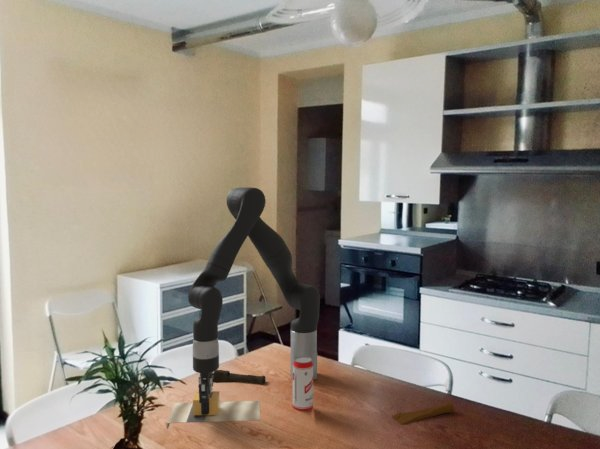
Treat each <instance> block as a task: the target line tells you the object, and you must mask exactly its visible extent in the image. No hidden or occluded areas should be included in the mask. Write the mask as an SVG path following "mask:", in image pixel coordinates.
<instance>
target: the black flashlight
mask: <svg viewBox="0 0 600 449" xmlns="http://www.w3.org/2000/svg"><path fill="white" fill-rule="evenodd" d="M213 373H214V378H213V383H216V384H222V383H223V384H224V383H225V384H226V383H227V384H228V383H245V384H253V385H260V386H263V385H264V384H265V383H266V375H254V374H253V375H252V374H239V373H233V372H231V371H230V370H224V369H223V370H222V369H217V370H216V371H214V372H213Z"/></svg>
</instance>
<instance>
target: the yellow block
mask: <svg viewBox="0 0 600 449" xmlns="http://www.w3.org/2000/svg"><path fill="white" fill-rule="evenodd" d="M203 398H206V396H203ZM209 399H210V401H209V414H208V415H218V411H219V406H220V402H221V401H220V399H221V398H220V391H219V390H217V391H216V390H215V391H213V390H212V391H211V393H210V396H209ZM192 403H193V415H202V414H201V403H199V391H195V394H194V397H193V400H192Z"/></svg>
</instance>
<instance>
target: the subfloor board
mask: <svg viewBox="0 0 600 449" xmlns="http://www.w3.org/2000/svg"><path fill="white" fill-rule="evenodd" d="M260 409H261V400H242V401H241V400H239V401H238V400H236V401H234V400H233V401H220V406H219V411H218V415H193V402H174V405H173V406H172V409H171V411H170V414H169V416H168V419H167V421H166V429H168V428H169V427H170V424H174V423H175V424H178V423H179V424H180V423H181V424H182V423H183V424H184V423H185V424H186V423H211V422H212V423H217V422H248V421H249V422H250V421H252V422H253V421H260V415H261V414H260V411H261V410H260Z"/></svg>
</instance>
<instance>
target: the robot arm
mask: <svg viewBox="0 0 600 449" xmlns="http://www.w3.org/2000/svg"><path fill="white" fill-rule="evenodd" d="M266 201H267V200H266V196H265V194H264V192H263V191H262V189H260V188H258V187H251V186H250V187H235V188H232V189H231V190H229V192H228V193H227V195H226V206H227V208H228V210H229V213H230V214H231V216H233V218H234V219H235V221H234V223H233V224H232V226H231V227H230V229H229V230H228V231H227V232H226V234H224V236H222V238H221V239H220V240H219V241H218V242H217V244H216V245H215V247H214V248H213V250H212V252H211V254H210V256H209V258H208V261H207V263H206V265H205V268H204V269H203V270H202V272H201V273H200V274H199V275H198V276H197V277H196V279H195V281H194V282H193V283H192V284H191V286H190V288H189V290H188V295H187V298H188V299H187V300H188V303H189V304H190V306H191V307H193V308H195V309H198V310H201V314H200V317H197V318H195V319H194V321H193V323H192V324H193V327H192V329H193V330H192V333H193V337H192V338H193V339H192V370H193V371H194V372H195V373H199V376H198V392H199V403H201V414H202V415H208V414H209V401H210V399H209V396H210V393H211V391H213V387H214V382H213V378H214V372H215V371H216V370H219V368H220V345H219V344H220V342H219V328H218V325H219V320H220V317H221V312H222V309H223V302H224V301H223V296H222V292H221V291H220V290H219V289H218V288H217V287H215V286H216V285H217V284H218V283H220V282H224V281H226V280H227V278H228V276H229V275H230V274H229V273H230V272H231V270H232V268H233V265H234V263H235V260H236V259H237V258H236V257H237V255H239V251H240V250H241V248H242V246H243V244H244V243H245V241H246V239H247V237H248V238H249V240H250V241H251V243H252V244H253V246H254V247H255V249H256V250H257V253H258V254H259V256H260V257H261V259H262V261H263V263H264V265H265V266H266V267H267V269H269V271H270V273H271V275H272V276H273V278H274V279H275V282H277V286H279V289H280V291H281V294H282V295H283V297H284V300H285V301H286V303H287V304H288V306H290V308H292V309H295V310H298V311H299V316H298V317H297V318H294V319H293V320H291V322H290V372H289V373H290V377H291V379H292V380H293V363H294V361H295V358H296V357H300V356H306V357H310V358H311V361H312V363H313V380H318V350H317V347H318V346H317V345H318V344H317V342H318V339H317V338H318V337H317V336H318V334H317V333H318V331H317V330H318V323H319V319H320V307H321V306H320V304H321V295H320V291H319V289H318V288H317V287H316V286H314V285H311V284H310V285H309V284H307V283H306V284H305V283H302V282H301V281H299V279H298V278H297V276H296V275H295V273H294V271H293V255H292V252H291V251H290V249H289V246H288V245H287V243H286V242H285V240H284V238H283V237H282V236H281V234H279V233H278V232H277V231H275V230H274V229H273V228H272V227H271V226H270V225H269V224H267V223H266V222H265V221H264V220H263V219H262V218H261V215H262V213H263V212H264V209H265V207H266ZM203 396H206V398H203Z"/></svg>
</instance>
